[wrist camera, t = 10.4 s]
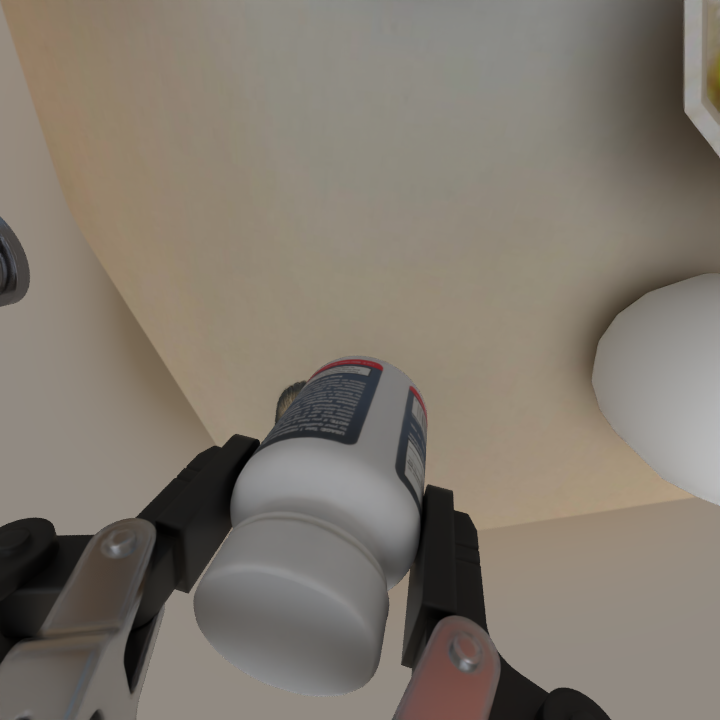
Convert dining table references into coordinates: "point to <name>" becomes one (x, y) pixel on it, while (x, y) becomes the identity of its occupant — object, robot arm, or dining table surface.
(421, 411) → the pill bottle
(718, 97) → the bowl
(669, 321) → the cup
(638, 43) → the dining table surface
